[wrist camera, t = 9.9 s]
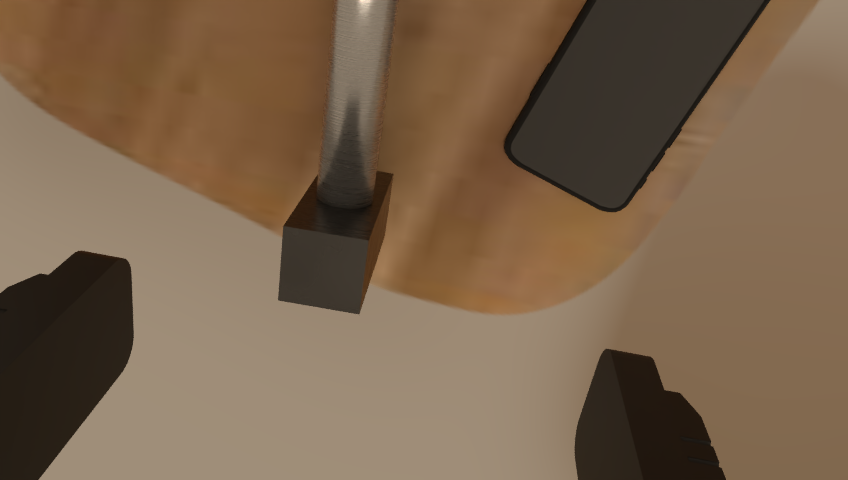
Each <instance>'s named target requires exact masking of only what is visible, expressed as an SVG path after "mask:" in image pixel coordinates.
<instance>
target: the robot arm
mask: <svg viewBox="0 0 848 480" xmlns="http://www.w3.org/2000/svg"><path fill="white" fill-rule="evenodd" d="M133 334H134V331H133V305H132V280H131V267H130V264H129V262H128V261H127V260H126V259H123V258H119V257H113V256H107V255H102V254H97V253H91V252H85V251H78V252H75V253H74V254H73V255H71V256H70V257H69V258H68V259H67V260H66V261H64V262H63V263H62V264H61V265H60V266H59V267H58V268H56V269H55V270H54V271H53V272H52V273H50V274H49V275H46V274H38V275H36V276H33V277H31V278H28V279H26V280H24V281H21V282H19V283H17V284H14V285H12V286H9V287H8V288H6V289H5V290H4V291H3V292H1V293H0V480H38V479H39V478H40V477H41V476H42V474H43V473H44V472H45V471H46V469H47V468H48V467H49V465H50V464H51V463H52V462H53V460H54V459H55V458H56V457H57V455H58V454H59V453H60V451H61V450H62V449H63V448H64V446H65V445H66V444H67V442H68V441H69V440H70V438H71V437H72V436H73V435H74V433H75V432H76V431H77V429H78V428H79V427H80V426H81V424H82V423H83V422H84V421H85V419H86V418H87V416H88V415H89V414H90V413H91V412H92V410H93V409H94V408H95V406H96V405H97V404H98V402H99V401H100V400H101V399H102V397H103V396H104V395H105V394H106V392H107V391H108V390H109V388H110V387H111V386H112V385H113V383H114V382H115V381H116V379H117V378H118V377H119V376H120V374H121V373H122V372H123V370H124V368H125V366H126V364H127V362H128V360H129V357H130V354H131V350H132V345H133V338H134V337H133V336H134V335H133ZM710 444H711V440H710V438H709V436H708V433H707V430H706V428H705V425H704V423H703V420H702V418H701V416H700V415H699V414H698V413H697V412H696V410H695V409H694V408H693V407H692V406H691V405H690V404H689V403H688V401H687V400H686V399H685V398H684V397H683V396H682V395H681V394H680V393H677V392H671V391H666V390H664V388H663V385H662V382H661V379H660V376H659V374H658V370H657V368H656V365H655V362H654V360H653V358H651V357H649V356H643V355H638V354H633V353H627V352H622V351H616V350H611V349H605V350H604V351H603V353H602V354H601V356H600V359H599V362H598V365H597V368H596V370H595V374H594V376H593V379H592V382H591V385H590V388H589V391H588V394H587V397H586V400H585V403H584V406H583V409H582V412H581V415H580V418H579V421H578V425H577V430H576V437H575V461H576V468H577V475H578V480H726V478H725V476H724V473H723V471H722V468H720V467H719V460H718V458H717V456H716V453H715V450H714V448H713V447H712V446H711V445H710Z"/></svg>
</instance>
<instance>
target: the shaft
mask: <svg viewBox="0 0 848 480" xmlns="http://www.w3.org/2000/svg"><path fill="white" fill-rule="evenodd" d="M397 7H398V0H334V6H333V17H332V28H331V39H330V50H329V61H328V72H327V83H326V94H325V105H324V116H323V127H322V138H321V150H320V161H319V172H318V175H317V176H316V178H315V179H314V181H313V182H312V184H311V185H310V187H309V188H308V190H307V191H306V193H305V194H304V196H303V197H302V199H301V200H300V202H299V203H298V205H297V206H296V208H295V209H294V211H293V212H292V214H291V215H290V217H289V218H288V220H287V221H286V223H285V224H284V226H283V239H282V255H281V269H280V283H279V296H278V300H280V301H285V302H291V303H297V304H303V305H309V306H315V307H320V308H326V309H331V310H338V311H343V312H349V313H354V314H359V313H360V310H361V307H362V304H363V301H364V298H365V294H366V292H367V289H368V286H369V283H370V280H371V277H372V273H373V270H374V267H375V264H376V261H377V258H378V255H379V252H380V249H381V246H382V243H383V240H384V236H385V231H386V223H387V216H388V209H389V202H390V195H391V187H392V180H393V174H391V173H385V172H380V171H377V163H378V155H379V147H380V139H381V132H382V124H383V116H384V108H385V100H386V93H387V85H388V77H389V69H390V61H391V54H392V46H393V38H394V30H395V22H396V14H397Z"/></svg>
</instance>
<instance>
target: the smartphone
mask: <svg viewBox="0 0 848 480" xmlns="http://www.w3.org/2000/svg"><path fill="white" fill-rule="evenodd" d="M769 1H770V0H587V2H586V4H585V5H584V7H583V9H582V10H581V12H580V14H579V15H578V17H577V19H576V20H575V22H574V24H573V26H572V27H571V29H570V31H569V32H568V34H567V36H566V37H565V39H564V41H563V42H562V44H561V46H560V48H559V49H558V51H557V53H556V54H555V56H554V58H553V59H552V61H551V63H550V64H548V65H547V67H546V69H545V71H544V72H543V74H542V76H541V77H540V79H539V81H538V82H537V84H536V86H535V88H534V89H533V91H532V93H531V94H530V96H531V97H530V98H529V100H528V102H527V104H526V105H525V107H524V109H523V110H522V112H521V114H520V115H519V117H518V119H517V121H516V122H515V124H514V126H513V127H512V129H511V131H510V132H509V134H508V136H507V138H506V141H505V146H504V148H505V153H506V154H507V156H508V158H509V159H510V160H511V161H512V162H513V163H514V164H516V165H517V166H519V167H521V168H523V169H524V170H526V171H528V172H530V173H532V174H534V175H536V176H537V177H539V178H541V179H543V180H545V181H547V182H549V183H551V184H552V185H554V186H556V187H558V188H560V189H562V190H564V191H565V192H567V193H569V194H571V195H573V196H575V197H577V198H578V199H580V200H582V201H584V202H586V203H588V204H590V205H591V206H593V207H595V208H597V209H599V210H602V211H606V212H617V211H620V210H622V209H623V208H625V207H626V206H627V205H628V204H629V203H630V201H631V200H632V198H633V197H634V195H635V194H636V192H637V191H638V190H639V188H640V189H641V187H642V186H643V185H644V183H645V182H646V180H647V179H646V178H647V177H648V175H649V174H650V172H651V171H653V170H654V169H655V167H656V166H657V165H658V163H659V162H660V160H661V159H662V157H663V156H664V155H665V151H666V149H667V148H669V147H670V146H671V145H672V143H673V142H674V140H675V139H676V137H677V136H678V135H679V133H680V132H681V130H682V129H681V128H682V127H683V125H684V124H685V122H686V121H687V119H688V118H689V116H690V115H691V114H692V112H693V111H694V109H695V108H696V106H697V105H698V104H699V102H700V101H701V99H702V98H703V96H704V95H705V93H706V92H707V91H708V89H709V88H710V86H711V85H712V83H713V82H714V81H715V79H716V78H717V76H718V75H719V73H720V72H721V70H722V69H723V68H724V66H725V65H726V63H727V62H728V60H729V59H730V58H731V56H732V55H733V53H734V52H735V50H736V49H737V47H738V46H739V45H740V43H741V42H742V40H743V39H744V37H745V36H746V35H747V33H748V32H749V30H750V29H751V27H752V26H753V24H754V23H755V22H756V20H757V19H758V17H759V16H760V14H761V13H762V12H763V10H764V9H765V7H766V6H767V4H768V3H769Z"/></svg>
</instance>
